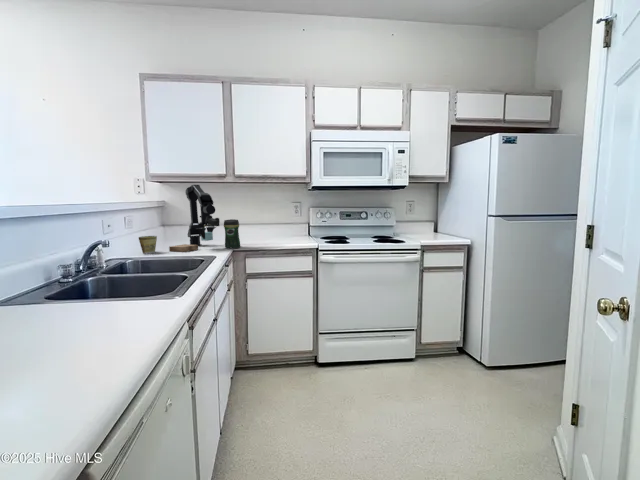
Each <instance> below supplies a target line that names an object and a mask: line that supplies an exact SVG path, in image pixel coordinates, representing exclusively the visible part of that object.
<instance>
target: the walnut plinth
mask: <svg viewBox="0 0 640 480" xmlns="http://www.w3.org/2000/svg"><path fill="white" fill-rule="evenodd" d="M168 249H169V250H168V251H169V252H173V253H175V252H176V253H187V252H192V251H197V250H199V246H198V245H190V244H186V243H183V244H178V245H172V246H171V245H170V246H169V247H168Z"/></svg>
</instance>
